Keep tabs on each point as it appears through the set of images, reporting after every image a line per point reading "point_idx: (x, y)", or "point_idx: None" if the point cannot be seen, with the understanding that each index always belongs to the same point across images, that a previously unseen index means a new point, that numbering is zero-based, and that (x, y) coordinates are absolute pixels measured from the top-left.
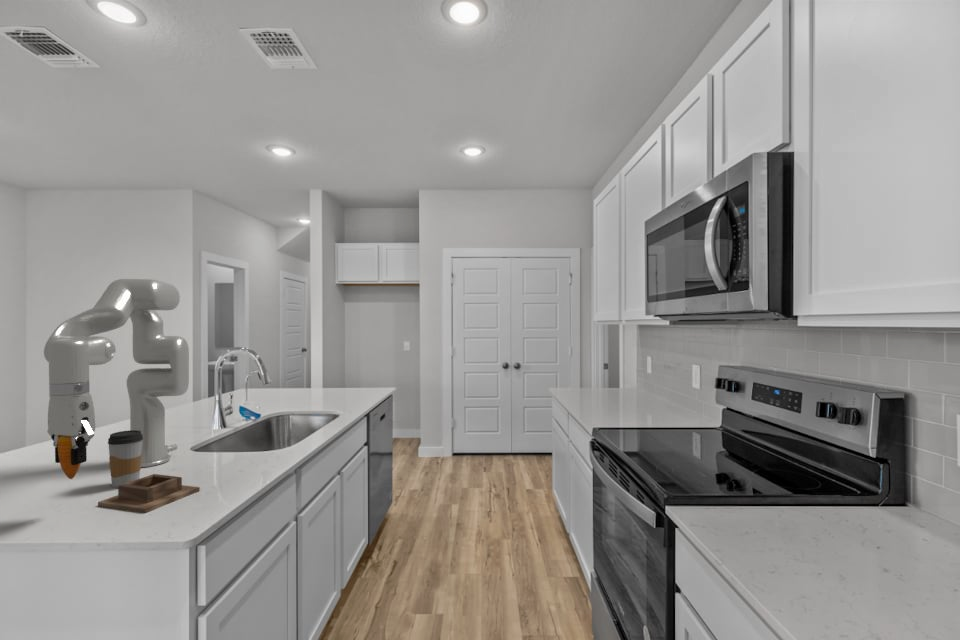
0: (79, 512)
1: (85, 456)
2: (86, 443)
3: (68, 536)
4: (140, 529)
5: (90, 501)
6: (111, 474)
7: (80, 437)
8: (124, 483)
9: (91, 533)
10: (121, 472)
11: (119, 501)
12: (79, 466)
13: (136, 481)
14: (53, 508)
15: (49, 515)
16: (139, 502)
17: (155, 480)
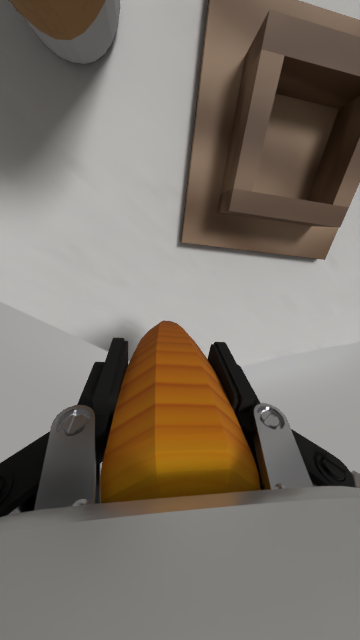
0: (174, 280)
1: (230, 357)
2: (299, 440)
3: (248, 357)
4: (345, 318)
5: (129, 215)
6: (31, 19)
7: (259, 481)
8: (105, 41)
9: (275, 343)
10: (86, 9)
11: (233, 227)
12: (181, 327)
13: (259, 152)
14: (90, 273)
15: (128, 305)
16: (289, 224)
17: (286, 71)
